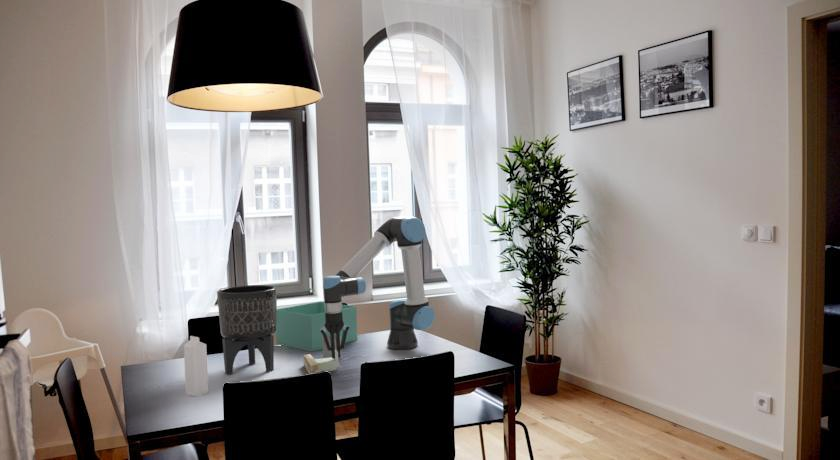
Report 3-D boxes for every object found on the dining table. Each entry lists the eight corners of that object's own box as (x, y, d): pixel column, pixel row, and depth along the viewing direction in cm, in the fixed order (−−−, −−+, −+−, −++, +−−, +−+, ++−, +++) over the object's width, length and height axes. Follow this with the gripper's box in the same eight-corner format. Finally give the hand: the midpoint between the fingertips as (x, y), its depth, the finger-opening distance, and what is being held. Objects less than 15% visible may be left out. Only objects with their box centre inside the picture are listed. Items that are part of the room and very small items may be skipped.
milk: (199, 390, 240) (197, 334, 239) (208, 392, 237) (206, 335, 236) (185, 394, 235) (183, 337, 235) (194, 396, 232) (192, 338, 231)
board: (310, 365, 273) (310, 354, 273) (318, 376, 254) (318, 364, 254) (303, 366, 272) (303, 354, 272) (311, 377, 253) (311, 365, 253)
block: (333, 366, 271) (332, 357, 270) (336, 370, 264) (336, 360, 264) (312, 368, 267) (312, 359, 267) (315, 372, 261) (315, 363, 261)
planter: (290, 363, 277) (287, 285, 275) (258, 379, 253) (255, 293, 251) (243, 360, 285) (240, 284, 283) (208, 375, 261) (204, 292, 260)
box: (320, 333, 341) (319, 301, 340) (357, 340, 321) (356, 306, 321) (276, 343, 319) (274, 309, 318) (312, 351, 299) (311, 315, 298)
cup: (337, 360, 279) (337, 339, 279) (320, 360, 281) (319, 338, 281) (343, 356, 288) (342, 335, 287) (327, 355, 289) (326, 334, 289)
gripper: (346, 308, 271) (348, 361, 272) (317, 312, 267) (320, 365, 268) (350, 311, 264) (353, 365, 265) (320, 314, 260) (323, 369, 261)
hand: (336, 365), depth 267 cm, fingers closed
